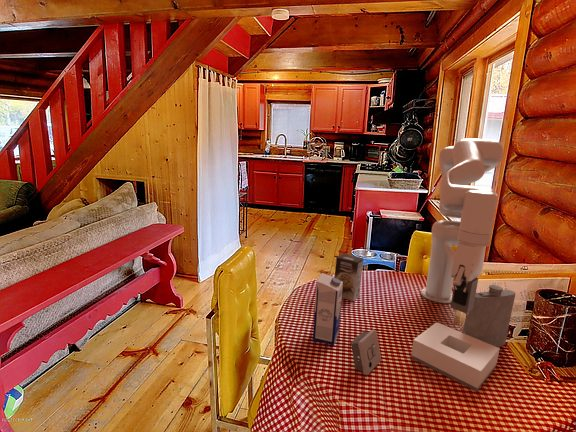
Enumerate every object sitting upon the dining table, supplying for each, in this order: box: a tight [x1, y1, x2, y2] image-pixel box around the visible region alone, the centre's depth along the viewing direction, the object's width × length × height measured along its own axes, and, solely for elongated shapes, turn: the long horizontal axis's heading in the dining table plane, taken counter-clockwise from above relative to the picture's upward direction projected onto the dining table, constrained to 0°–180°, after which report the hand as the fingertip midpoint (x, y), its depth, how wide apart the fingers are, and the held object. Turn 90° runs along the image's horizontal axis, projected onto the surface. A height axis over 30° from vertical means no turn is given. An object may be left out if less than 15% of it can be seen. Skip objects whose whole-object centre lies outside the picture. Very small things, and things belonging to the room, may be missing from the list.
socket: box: [410, 322, 501, 393], centre depth 101 cm, size 15×18×6 cm
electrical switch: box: [350, 329, 382, 376], centre depth 98 cm, size 9×5×9 cm, turn 141°
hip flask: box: [462, 284, 516, 348], centre depth 108 cm, size 16×4×20 cm, turn 106°
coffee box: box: [334, 253, 364, 302], centre depth 139 cm, size 9×6×16 cm
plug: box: [450, 277, 479, 315], centre depth 97 cm, size 4×4×10 cm
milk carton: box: [312, 272, 343, 346], centre depth 109 cm, size 7×7×20 cm
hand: (463, 300), depth 97 cm, fingers closed on plug, 4 cm apart
